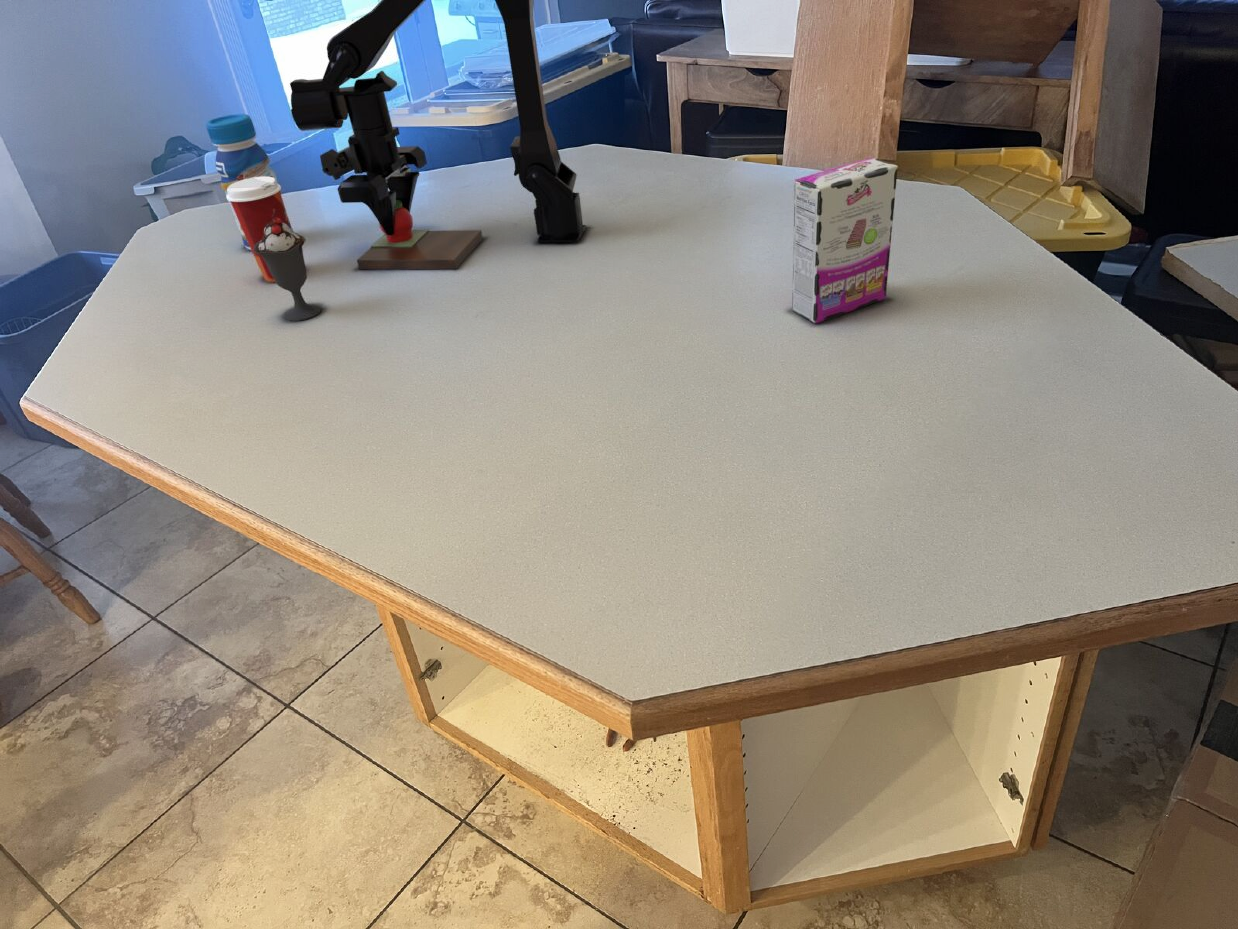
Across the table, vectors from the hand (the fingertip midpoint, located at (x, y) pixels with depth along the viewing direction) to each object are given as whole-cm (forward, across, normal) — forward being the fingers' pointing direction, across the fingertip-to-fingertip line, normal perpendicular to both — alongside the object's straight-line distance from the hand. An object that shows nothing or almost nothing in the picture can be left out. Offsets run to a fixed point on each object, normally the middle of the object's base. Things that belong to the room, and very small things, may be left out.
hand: (397, 228), depth 130 cm
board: (+3, +2, +4) cm, 6 cm away
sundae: (+3, +24, -4) cm, 24 cm away
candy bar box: (+3, +19, +68) cm, 70 cm away
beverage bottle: (+3, -2, -26) cm, 26 cm away
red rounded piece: (+2, 0, 0) cm, 2 cm away
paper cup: (+3, +10, -16) cm, 19 cm away
